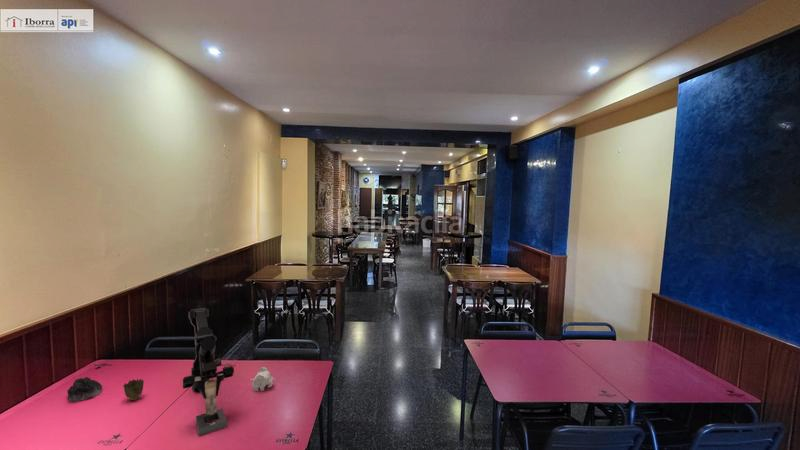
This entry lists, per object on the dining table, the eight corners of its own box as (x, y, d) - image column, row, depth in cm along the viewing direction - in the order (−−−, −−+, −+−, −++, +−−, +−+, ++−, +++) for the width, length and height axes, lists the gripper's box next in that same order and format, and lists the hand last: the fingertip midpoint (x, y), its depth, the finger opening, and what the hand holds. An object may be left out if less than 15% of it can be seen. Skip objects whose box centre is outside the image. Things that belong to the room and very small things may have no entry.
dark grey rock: (89, 387, 173) (85, 368, 172) (111, 388, 170) (108, 368, 169) (58, 404, 160) (54, 384, 158) (82, 405, 157) (78, 385, 156)
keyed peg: (204, 410, 144) (204, 381, 144) (215, 407, 147) (215, 378, 146) (206, 416, 140) (205, 386, 140) (217, 413, 143) (217, 383, 142)
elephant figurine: (273, 392, 170) (273, 374, 169) (247, 394, 168) (247, 376, 167) (277, 382, 179) (277, 365, 179) (252, 384, 177) (252, 367, 177)
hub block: (196, 422, 146) (195, 415, 145) (222, 414, 151) (222, 407, 151) (198, 436, 137) (198, 428, 137) (226, 427, 143) (226, 419, 143)
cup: (133, 405, 157) (132, 387, 157) (119, 402, 159) (119, 385, 158) (148, 396, 165) (147, 379, 164) (135, 394, 166) (134, 377, 166)
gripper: (182, 358, 140) (185, 397, 132) (233, 347, 151) (238, 383, 143) (181, 369, 147) (184, 407, 139) (230, 358, 158) (235, 393, 150)
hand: (211, 397), depth 143 cm, fingers closed on keyed peg, 4 cm apart
